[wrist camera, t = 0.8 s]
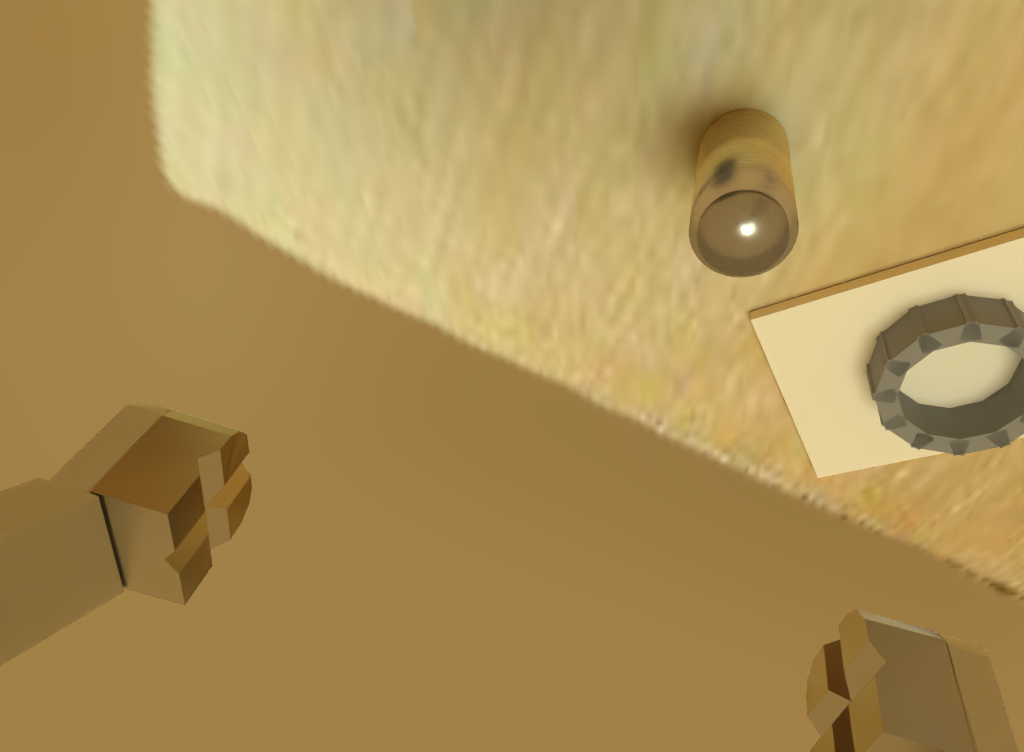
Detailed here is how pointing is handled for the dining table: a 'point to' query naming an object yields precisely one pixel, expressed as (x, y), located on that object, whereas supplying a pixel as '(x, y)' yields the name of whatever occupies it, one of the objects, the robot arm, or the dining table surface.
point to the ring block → (905, 358)
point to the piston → (743, 196)
